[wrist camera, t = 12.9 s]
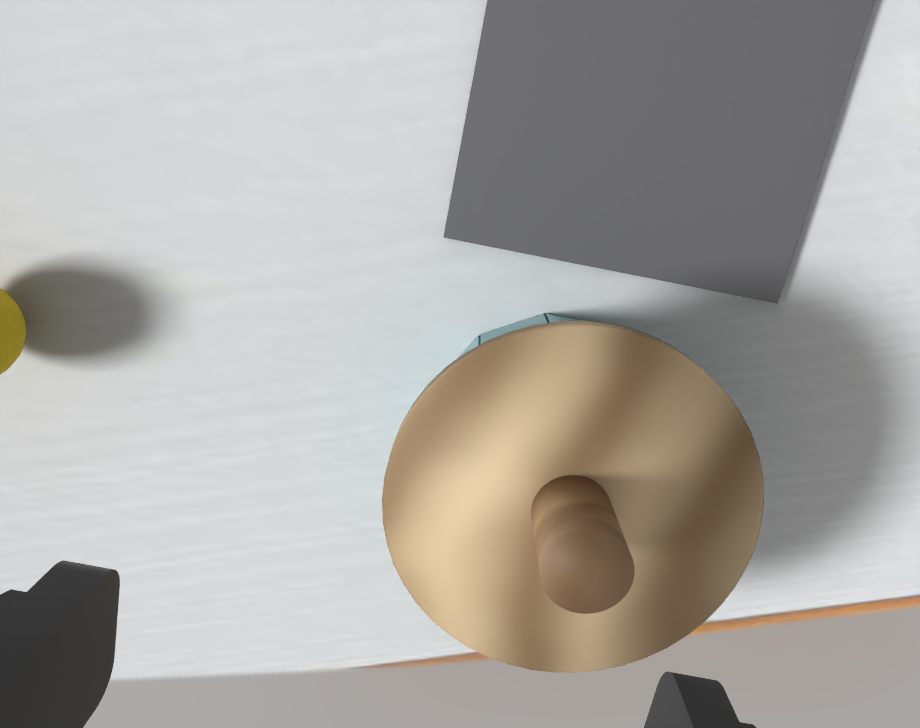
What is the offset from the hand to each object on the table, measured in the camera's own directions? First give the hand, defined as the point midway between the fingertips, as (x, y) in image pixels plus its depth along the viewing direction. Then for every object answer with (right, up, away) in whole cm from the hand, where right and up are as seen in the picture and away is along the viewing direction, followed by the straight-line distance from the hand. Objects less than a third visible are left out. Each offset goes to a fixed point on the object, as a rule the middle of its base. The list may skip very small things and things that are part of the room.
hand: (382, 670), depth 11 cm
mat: (+11, +18, +26) cm, 33 cm away
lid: (+6, -2, +23) cm, 24 cm away
